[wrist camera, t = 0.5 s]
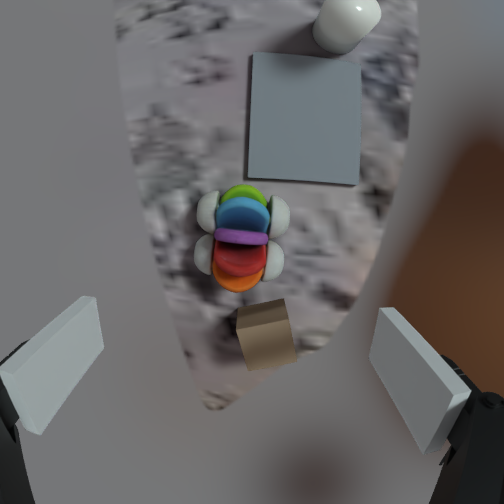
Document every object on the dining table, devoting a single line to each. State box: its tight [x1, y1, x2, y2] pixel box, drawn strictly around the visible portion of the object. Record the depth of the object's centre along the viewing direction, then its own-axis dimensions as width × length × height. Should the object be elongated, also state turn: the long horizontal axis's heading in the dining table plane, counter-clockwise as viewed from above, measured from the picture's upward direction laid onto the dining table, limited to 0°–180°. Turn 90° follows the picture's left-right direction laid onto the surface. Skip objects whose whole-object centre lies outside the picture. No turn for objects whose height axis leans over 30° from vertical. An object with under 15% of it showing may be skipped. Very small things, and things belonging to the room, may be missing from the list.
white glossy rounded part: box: [312, 0, 381, 54], centre depth 22 cm, size 5×5×7 cm
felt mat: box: [248, 52, 361, 185], centre depth 28 cm, size 13×11×1 cm
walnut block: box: [236, 298, 297, 371], centre depth 31 cm, size 5×5×5 cm
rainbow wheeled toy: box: [194, 185, 290, 293], centre depth 28 cm, size 8×10×7 cm
